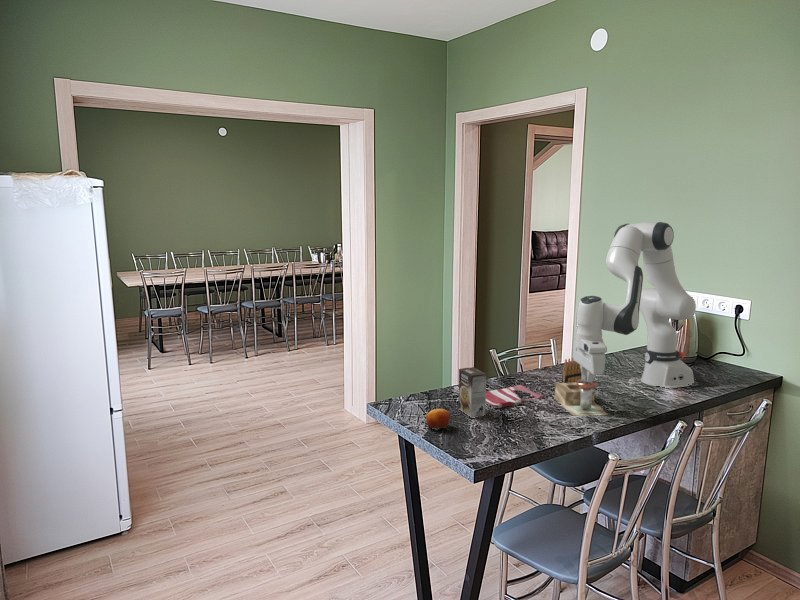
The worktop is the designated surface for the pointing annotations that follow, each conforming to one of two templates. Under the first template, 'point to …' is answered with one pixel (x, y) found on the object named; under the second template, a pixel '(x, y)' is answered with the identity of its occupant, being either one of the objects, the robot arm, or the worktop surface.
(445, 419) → the fruit
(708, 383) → the worktop surface
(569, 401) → the collar stand
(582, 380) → the handwheel peg
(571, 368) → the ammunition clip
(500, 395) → the dish towel
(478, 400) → the coffee box
